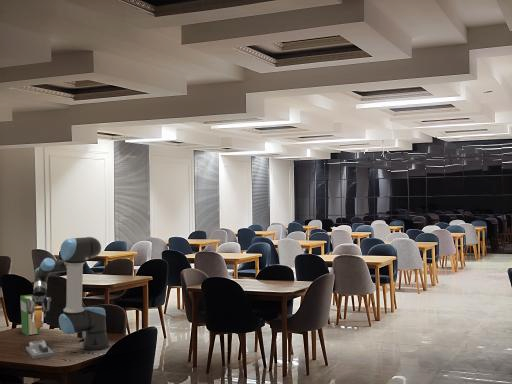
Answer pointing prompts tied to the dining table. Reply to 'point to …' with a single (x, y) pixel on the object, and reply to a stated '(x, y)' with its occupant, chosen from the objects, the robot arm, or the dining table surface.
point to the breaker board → (39, 350)
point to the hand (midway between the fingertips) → (37, 322)
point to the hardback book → (27, 317)
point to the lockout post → (38, 316)
